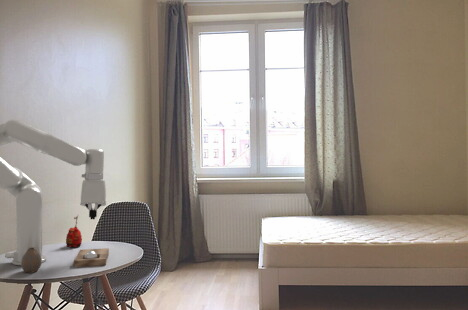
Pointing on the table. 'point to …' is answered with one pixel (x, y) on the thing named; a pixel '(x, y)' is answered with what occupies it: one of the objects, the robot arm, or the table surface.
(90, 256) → the ball
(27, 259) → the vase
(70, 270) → the table surface
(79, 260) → the board
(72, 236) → the red clay folk toy
